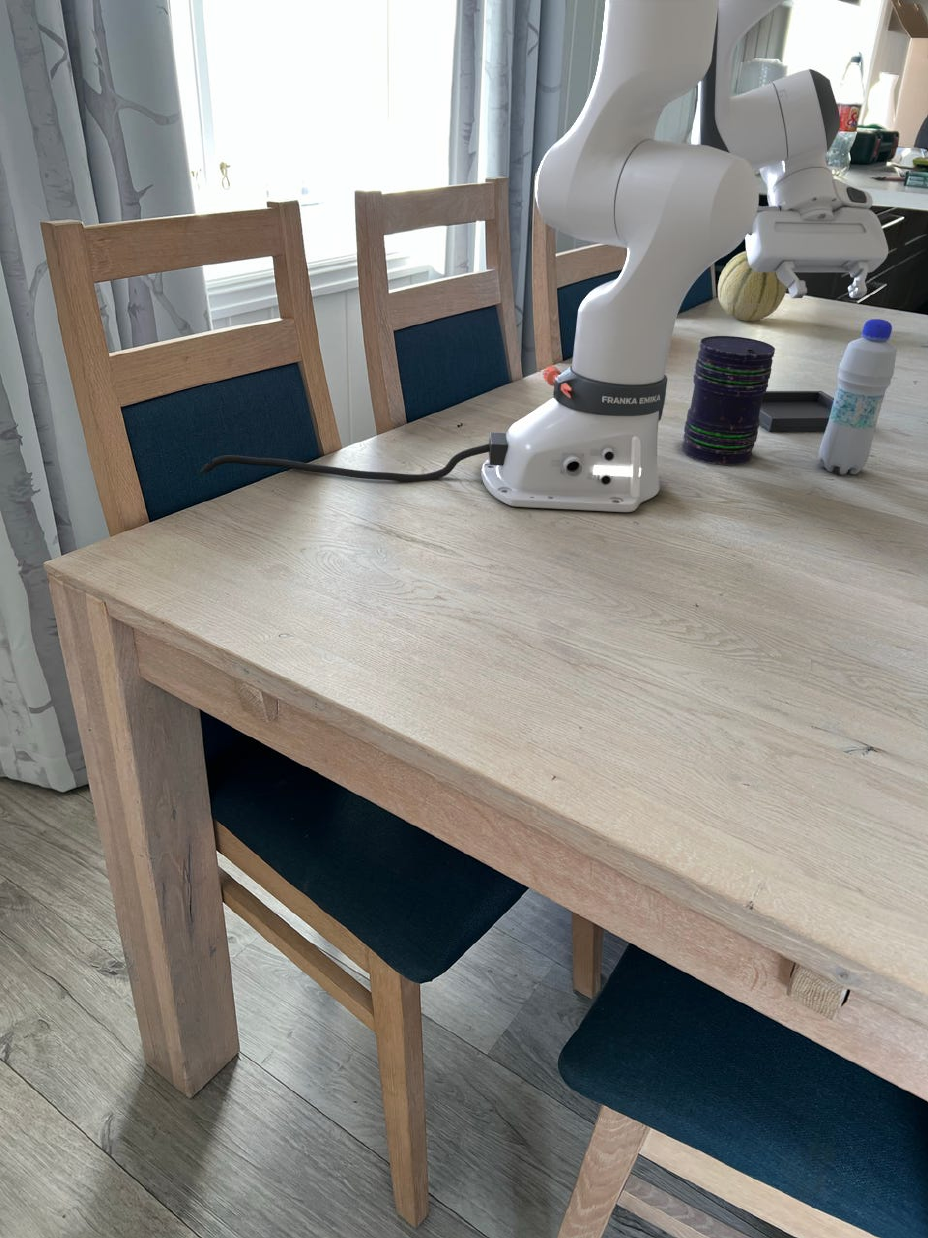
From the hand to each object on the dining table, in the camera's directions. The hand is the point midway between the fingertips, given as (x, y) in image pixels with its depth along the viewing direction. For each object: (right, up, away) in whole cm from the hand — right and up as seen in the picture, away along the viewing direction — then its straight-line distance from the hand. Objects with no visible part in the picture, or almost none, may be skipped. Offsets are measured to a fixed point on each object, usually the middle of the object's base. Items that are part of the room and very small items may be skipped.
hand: (829, 295), depth 127 cm
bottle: (+2, -23, +2) cm, 23 cm away
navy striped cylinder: (-14, -21, +5) cm, 25 cm away
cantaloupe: (+13, +22, +81) cm, 85 cm away
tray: (+3, -12, +21) cm, 24 cm away
